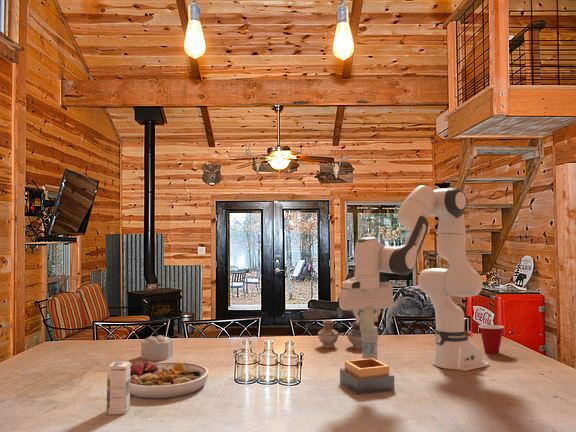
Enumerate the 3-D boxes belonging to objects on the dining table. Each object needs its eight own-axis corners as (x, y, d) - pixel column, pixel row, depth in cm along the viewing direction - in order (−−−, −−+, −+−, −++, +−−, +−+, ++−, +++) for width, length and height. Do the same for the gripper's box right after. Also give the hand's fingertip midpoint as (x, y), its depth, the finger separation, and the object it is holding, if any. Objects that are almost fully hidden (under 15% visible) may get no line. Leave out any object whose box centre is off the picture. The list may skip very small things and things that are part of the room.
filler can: (369, 330, 182) (369, 299, 183) (376, 332, 178) (376, 301, 178) (357, 331, 181) (357, 300, 181) (363, 333, 176) (363, 302, 176)
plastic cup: (496, 349, 232) (495, 322, 232) (509, 354, 221) (509, 327, 222) (473, 349, 230) (473, 323, 231) (486, 355, 220) (486, 328, 220)
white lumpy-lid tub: (166, 360, 215) (166, 340, 215) (136, 359, 216) (136, 339, 216) (174, 354, 225) (174, 334, 225) (146, 353, 226) (146, 334, 226)
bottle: (378, 372, 195) (377, 320, 196) (360, 371, 197) (360, 320, 197) (378, 367, 202) (378, 317, 202) (361, 366, 203) (361, 317, 204)
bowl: (222, 379, 189) (222, 358, 189) (180, 406, 161) (180, 381, 161) (153, 372, 199) (153, 351, 199) (101, 396, 170) (102, 372, 170)
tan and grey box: (374, 378, 188) (374, 356, 188) (394, 390, 174) (394, 366, 175) (340, 382, 183) (340, 360, 183) (357, 394, 170) (357, 370, 170)
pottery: (317, 344, 244) (317, 319, 244) (370, 344, 242) (370, 319, 242) (317, 349, 233) (317, 323, 233) (372, 350, 231) (372, 324, 231)
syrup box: (111, 408, 158) (111, 361, 158) (130, 407, 158) (130, 361, 159) (106, 415, 152) (106, 366, 153) (126, 414, 153) (126, 366, 153)
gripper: (388, 281, 186) (388, 318, 186) (337, 282, 179) (337, 321, 179) (397, 282, 180) (397, 321, 180) (344, 284, 174) (344, 325, 173)
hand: (366, 321), depth 179 cm, fingers closed on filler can, 5 cm apart
